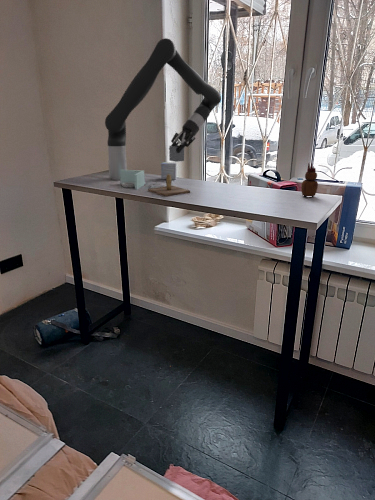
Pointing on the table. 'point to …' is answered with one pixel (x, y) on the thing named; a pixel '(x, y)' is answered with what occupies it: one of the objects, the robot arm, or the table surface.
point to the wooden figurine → (310, 182)
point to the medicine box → (168, 170)
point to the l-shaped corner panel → (132, 178)
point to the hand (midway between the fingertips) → (173, 151)
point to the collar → (175, 154)
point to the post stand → (168, 189)
